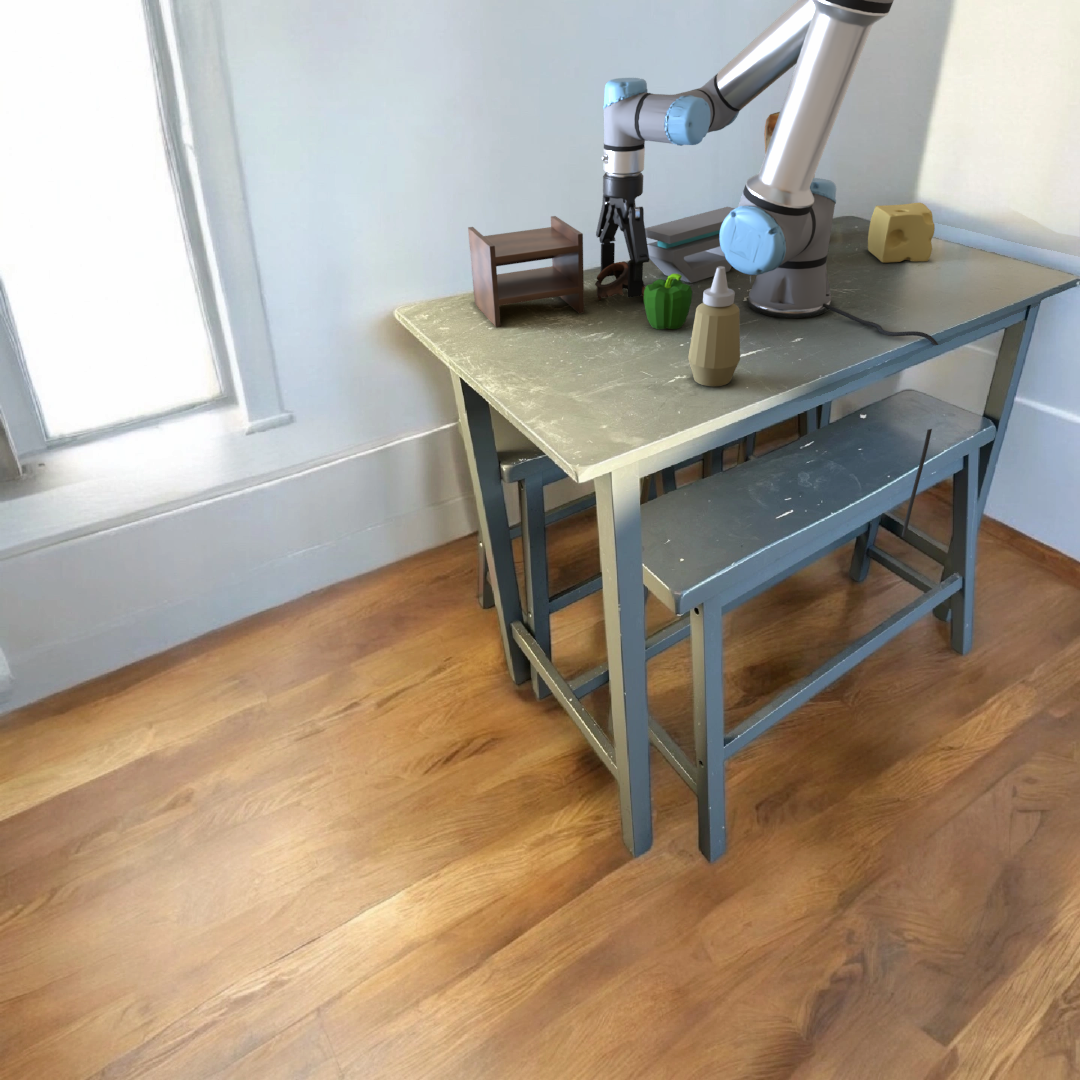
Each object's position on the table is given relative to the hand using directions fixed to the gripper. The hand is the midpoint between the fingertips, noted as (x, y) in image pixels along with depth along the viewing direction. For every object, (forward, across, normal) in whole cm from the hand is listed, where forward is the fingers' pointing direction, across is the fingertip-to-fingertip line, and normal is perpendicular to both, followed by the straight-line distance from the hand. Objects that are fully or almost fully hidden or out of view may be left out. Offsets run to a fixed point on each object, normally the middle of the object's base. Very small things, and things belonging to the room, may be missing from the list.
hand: (620, 285), depth 170 cm
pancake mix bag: (+2, -20, +50) cm, 54 cm away
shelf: (+3, -3, -19) cm, 19 cm away
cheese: (+2, +1, +65) cm, 65 cm away
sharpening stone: (+3, -8, +21) cm, 23 cm away
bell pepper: (+2, +18, +1) cm, 19 cm away
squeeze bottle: (+2, +43, -3) cm, 44 cm away
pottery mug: (+3, 0, 0) cm, 3 cm away
